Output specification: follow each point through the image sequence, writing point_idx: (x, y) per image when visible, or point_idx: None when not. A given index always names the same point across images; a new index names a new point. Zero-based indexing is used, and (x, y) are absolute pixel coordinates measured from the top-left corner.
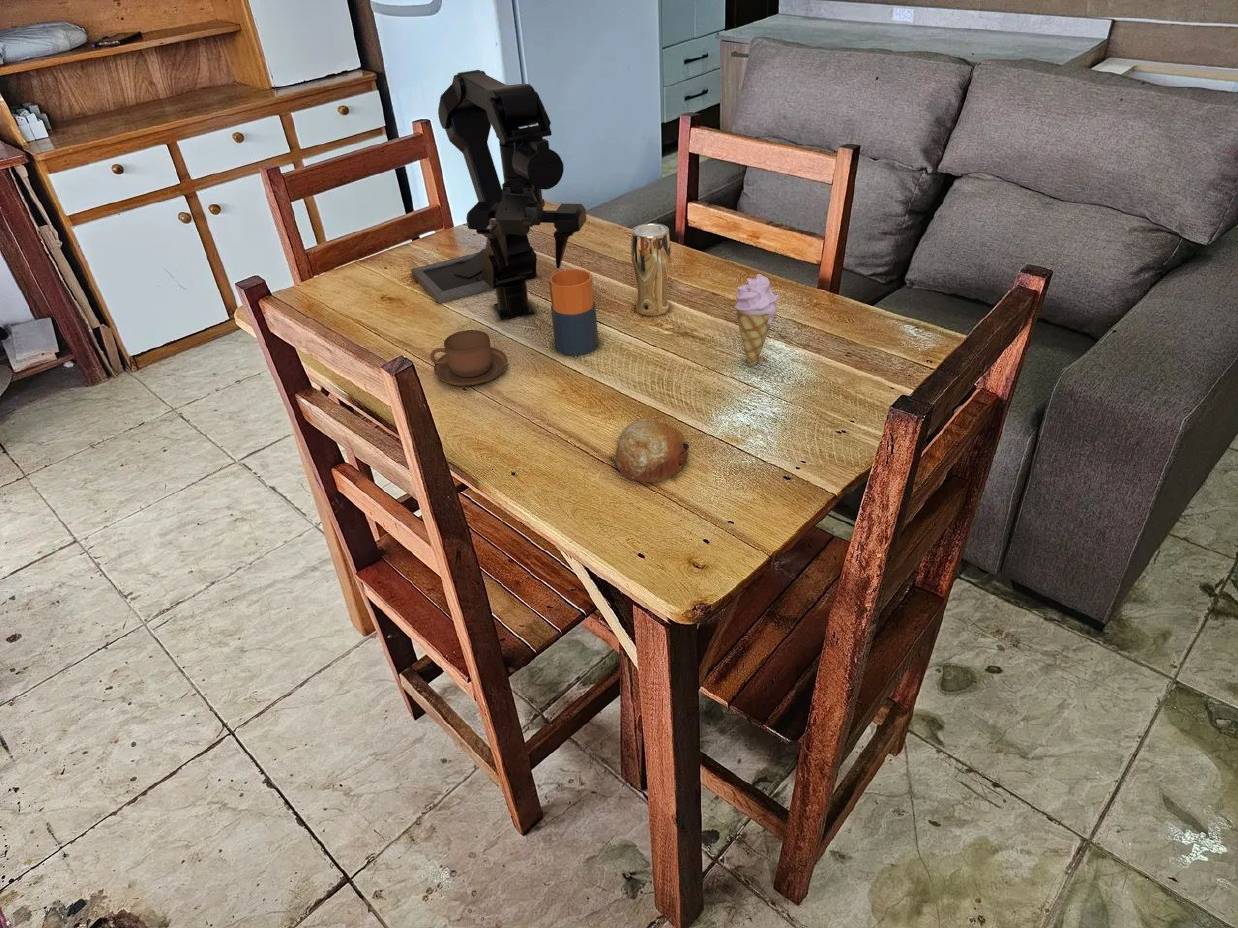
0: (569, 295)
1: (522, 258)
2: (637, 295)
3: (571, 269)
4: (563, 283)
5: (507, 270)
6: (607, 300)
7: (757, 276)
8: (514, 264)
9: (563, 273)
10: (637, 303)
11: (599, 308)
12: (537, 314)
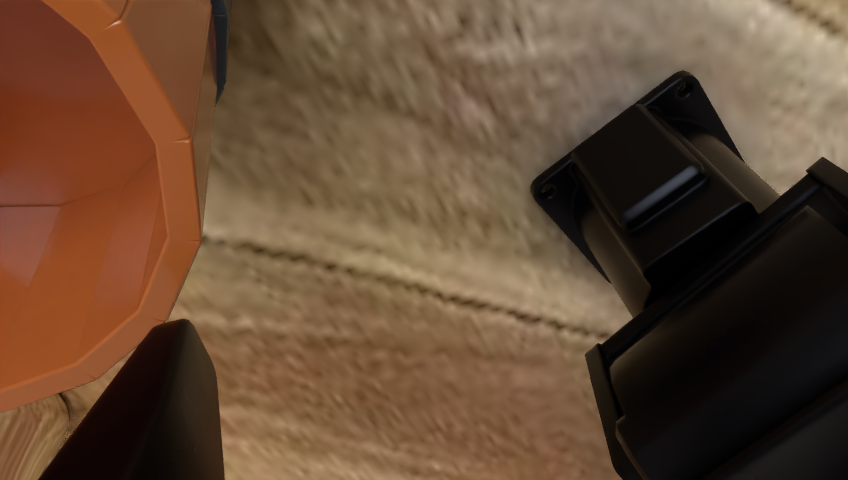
0: None
1: (715, 413)
2: (19, 450)
3: (57, 386)
4: (154, 218)
5: (796, 268)
6: (244, 399)
7: None
8: (760, 337)
9: (132, 302)
10: (16, 408)
11: (235, 335)
12: (511, 190)
